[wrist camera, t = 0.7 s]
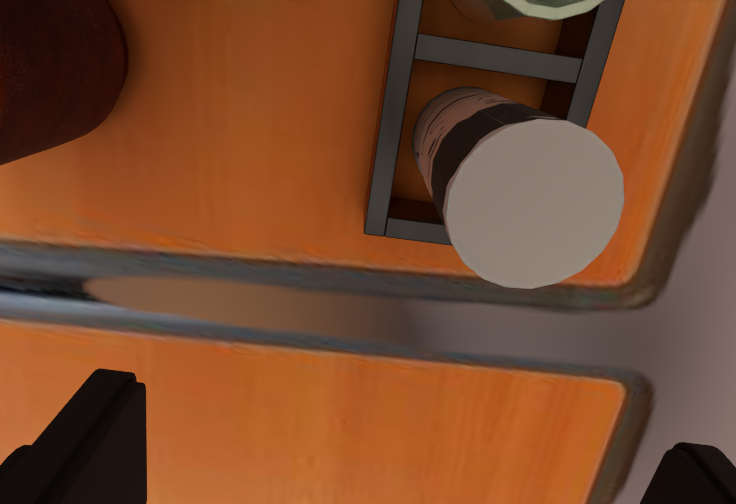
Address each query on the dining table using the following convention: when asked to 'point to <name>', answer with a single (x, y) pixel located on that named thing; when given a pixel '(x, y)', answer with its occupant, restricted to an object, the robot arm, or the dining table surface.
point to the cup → (517, 187)
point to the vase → (57, 72)
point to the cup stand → (562, 70)
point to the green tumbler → (521, 10)
